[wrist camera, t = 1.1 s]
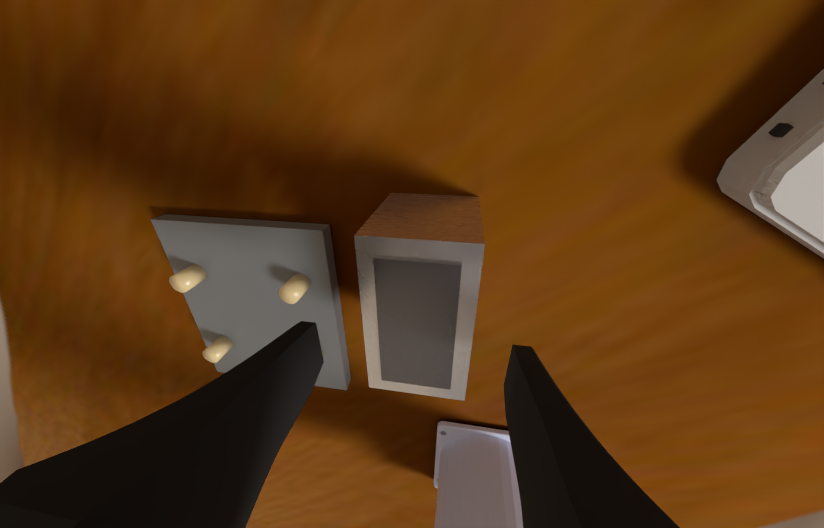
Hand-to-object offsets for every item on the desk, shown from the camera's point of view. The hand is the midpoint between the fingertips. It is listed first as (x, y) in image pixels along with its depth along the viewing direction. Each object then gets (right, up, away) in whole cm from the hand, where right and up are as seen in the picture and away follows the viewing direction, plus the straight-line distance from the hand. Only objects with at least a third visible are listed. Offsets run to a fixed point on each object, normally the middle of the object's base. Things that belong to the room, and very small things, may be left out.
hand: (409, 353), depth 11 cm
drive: (+1, +3, +7) cm, 8 cm away
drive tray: (-10, 0, +10) cm, 14 cm away
